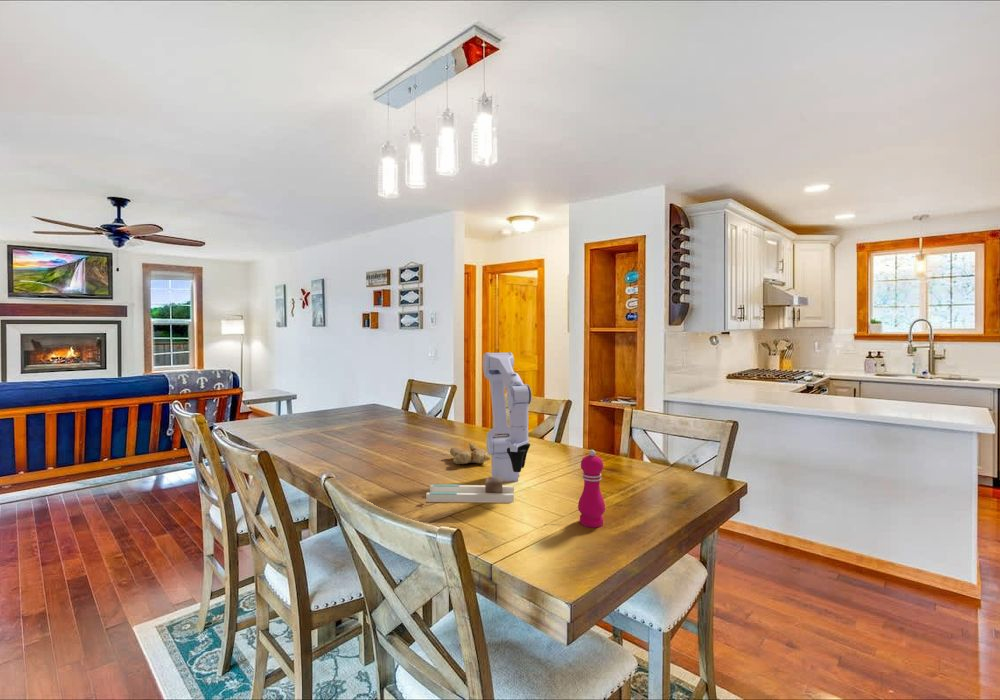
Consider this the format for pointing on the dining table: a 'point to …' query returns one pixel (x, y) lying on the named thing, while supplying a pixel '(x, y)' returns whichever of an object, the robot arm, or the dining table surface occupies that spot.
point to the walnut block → (493, 485)
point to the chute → (468, 494)
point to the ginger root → (469, 455)
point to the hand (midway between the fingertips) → (518, 469)
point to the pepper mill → (591, 492)
